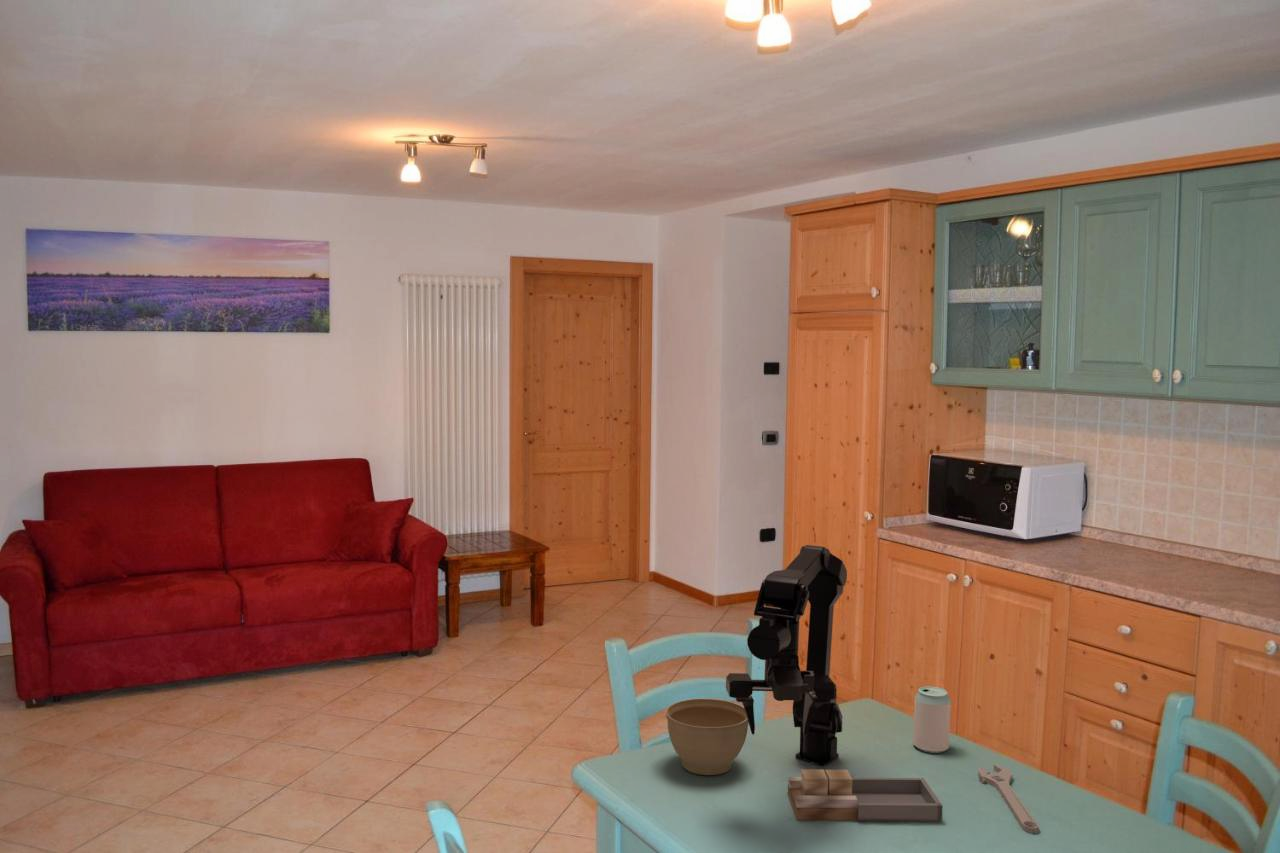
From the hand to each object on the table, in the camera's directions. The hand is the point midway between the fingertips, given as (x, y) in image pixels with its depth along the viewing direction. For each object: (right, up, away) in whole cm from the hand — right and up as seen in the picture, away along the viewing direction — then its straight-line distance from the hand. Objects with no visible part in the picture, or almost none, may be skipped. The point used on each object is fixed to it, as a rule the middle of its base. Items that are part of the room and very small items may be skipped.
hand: (778, 734), depth 175 cm
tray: (+20, -14, +2) cm, 25 cm away
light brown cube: (+11, -12, +2) cm, 16 cm away
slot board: (+8, -14, +2) cm, 16 cm away
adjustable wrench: (+42, -14, +6) cm, 45 cm away
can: (+35, -12, +29) cm, 47 cm away
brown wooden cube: (+6, -11, +1) cm, 13 cm away
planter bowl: (-11, -12, +18) cm, 25 cm away
